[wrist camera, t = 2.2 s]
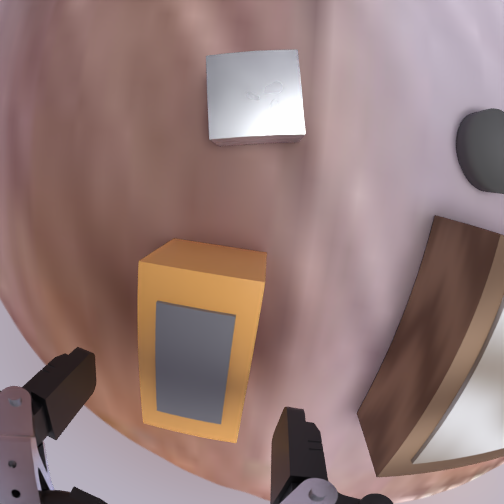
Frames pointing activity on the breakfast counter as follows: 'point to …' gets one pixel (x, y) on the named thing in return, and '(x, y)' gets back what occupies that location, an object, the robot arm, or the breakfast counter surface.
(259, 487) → the breakfast counter surface
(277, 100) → the grey metal block
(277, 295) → the breakfast counter surface
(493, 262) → the brown square box
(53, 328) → the breakfast counter surface
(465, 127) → the black rubber puck
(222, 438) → the block
